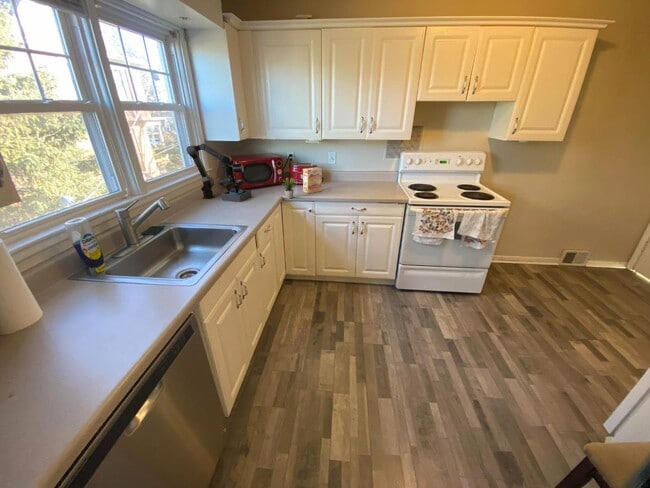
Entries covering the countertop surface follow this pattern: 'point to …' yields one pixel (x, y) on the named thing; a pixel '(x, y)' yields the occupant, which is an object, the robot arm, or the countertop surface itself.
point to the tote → (236, 196)
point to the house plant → (289, 188)
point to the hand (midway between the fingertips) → (233, 193)
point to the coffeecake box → (312, 180)
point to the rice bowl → (236, 193)
